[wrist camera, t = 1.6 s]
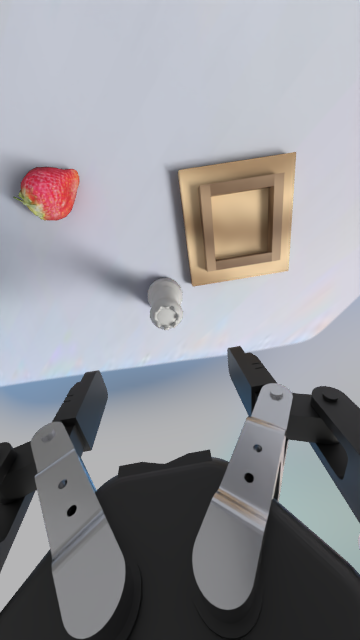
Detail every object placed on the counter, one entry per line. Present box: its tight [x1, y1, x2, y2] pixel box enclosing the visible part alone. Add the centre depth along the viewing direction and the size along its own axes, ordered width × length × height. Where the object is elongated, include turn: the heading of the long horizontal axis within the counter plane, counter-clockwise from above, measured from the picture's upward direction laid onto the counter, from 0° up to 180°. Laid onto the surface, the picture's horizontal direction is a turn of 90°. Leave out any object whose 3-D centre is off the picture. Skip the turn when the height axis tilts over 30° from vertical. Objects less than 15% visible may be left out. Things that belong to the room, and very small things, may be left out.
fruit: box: [14, 167, 79, 220], centre depth 20 cm, size 4×6×5 cm
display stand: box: [178, 152, 296, 286], centre depth 24 cm, size 12×12×2 cm
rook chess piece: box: [148, 278, 183, 330], centre depth 24 cm, size 4×4×8 cm
